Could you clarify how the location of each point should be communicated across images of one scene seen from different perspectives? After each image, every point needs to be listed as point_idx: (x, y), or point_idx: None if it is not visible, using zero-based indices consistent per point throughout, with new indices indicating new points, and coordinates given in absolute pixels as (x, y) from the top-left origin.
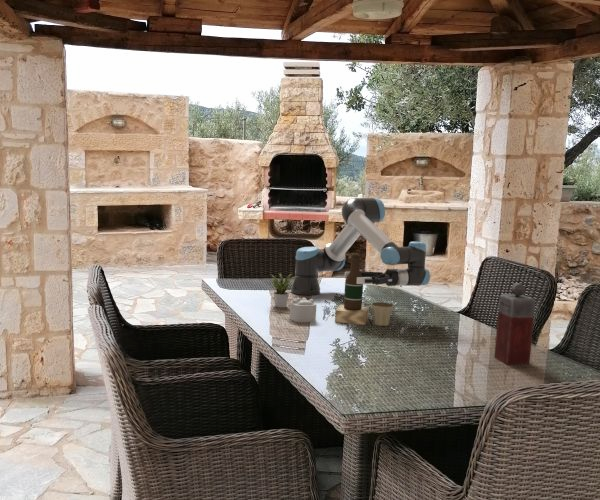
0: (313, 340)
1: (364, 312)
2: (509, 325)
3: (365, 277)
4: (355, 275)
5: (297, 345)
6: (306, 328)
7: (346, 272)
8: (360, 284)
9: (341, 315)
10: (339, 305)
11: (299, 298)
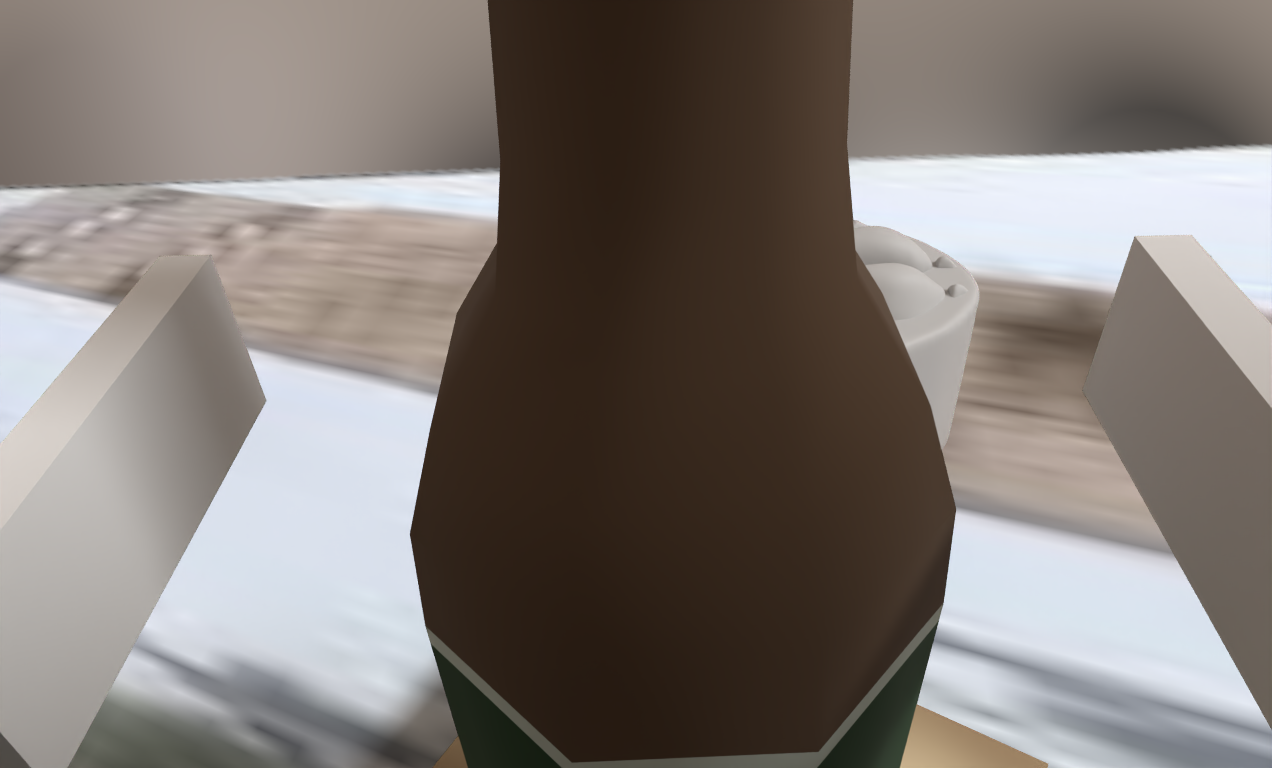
0: None
1: None
2: None
3: (21, 423)
4: (473, 286)
5: (76, 261)
6: (436, 375)
7: (1142, 264)
8: (423, 600)
9: None
10: (949, 724)
11: (861, 238)
